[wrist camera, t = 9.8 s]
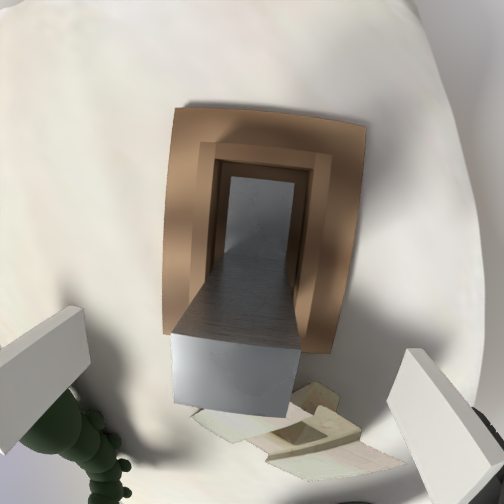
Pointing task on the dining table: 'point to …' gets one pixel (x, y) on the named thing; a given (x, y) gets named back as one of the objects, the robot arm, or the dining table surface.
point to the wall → (303, 437)
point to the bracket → (243, 313)
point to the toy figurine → (81, 446)
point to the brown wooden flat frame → (267, 168)
